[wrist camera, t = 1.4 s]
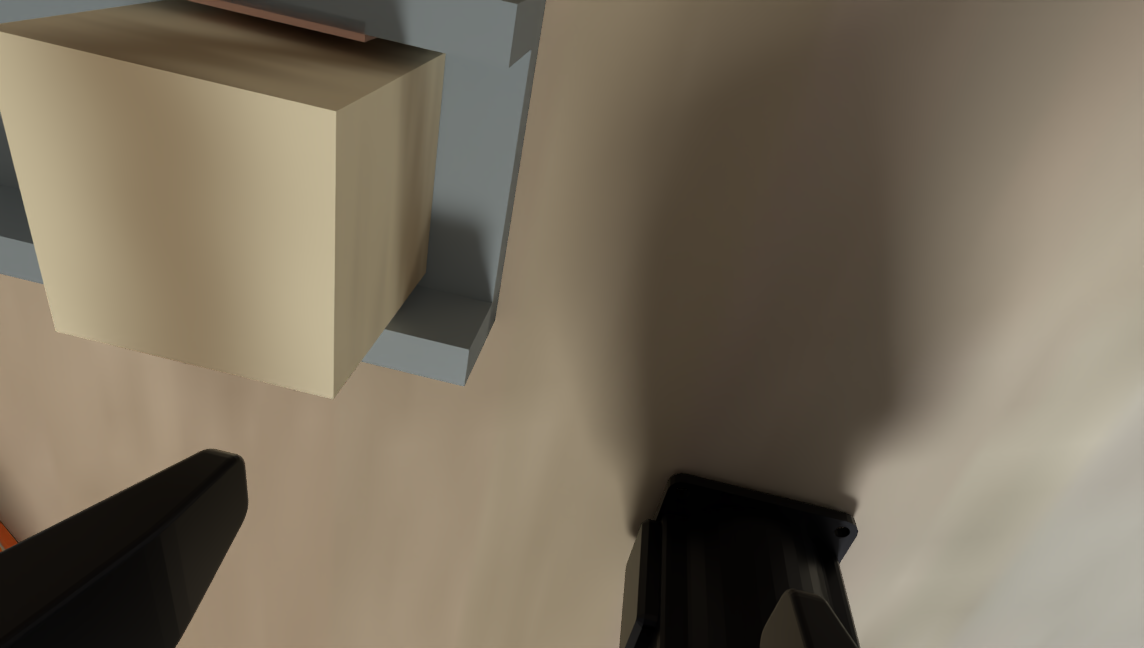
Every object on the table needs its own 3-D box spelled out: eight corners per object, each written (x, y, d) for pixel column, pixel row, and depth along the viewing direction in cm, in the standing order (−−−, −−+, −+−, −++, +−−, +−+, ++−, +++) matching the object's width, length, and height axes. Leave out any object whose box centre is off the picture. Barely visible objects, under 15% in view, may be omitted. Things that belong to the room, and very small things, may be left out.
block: (445, 52, 16) (336, 111, 11) (425, 272, 19) (333, 399, 14) (201, -6, 16) (-22, 26, 11) (221, 223, 19) (56, 331, 14)
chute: (547, -11, 16) (517, 4, 13) (494, 320, 21) (464, 386, 18) (-258, -199, 16) (-469, -227, 13) (-123, 171, 21) (-255, 211, 18)
